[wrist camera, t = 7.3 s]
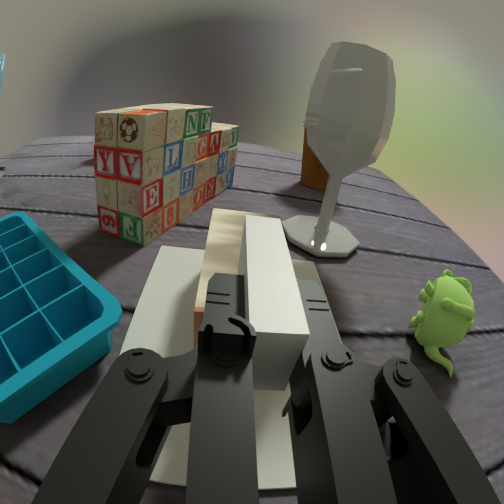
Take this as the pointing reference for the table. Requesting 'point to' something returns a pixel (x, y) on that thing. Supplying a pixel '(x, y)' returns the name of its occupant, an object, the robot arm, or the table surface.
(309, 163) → the disposable coffee cup
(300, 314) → the robot arm
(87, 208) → the table surface
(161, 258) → the rubber mat
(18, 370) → the ice cube tray
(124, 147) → the stack of blocks
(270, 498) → the table surface
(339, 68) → the wineglass
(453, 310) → the green monster figurine
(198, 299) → the birch block
